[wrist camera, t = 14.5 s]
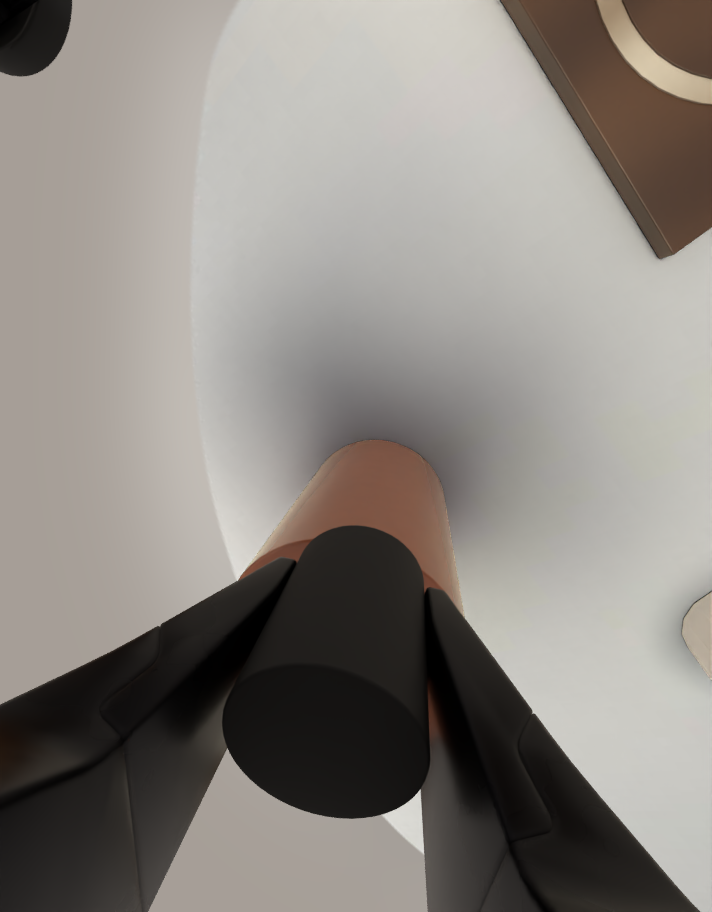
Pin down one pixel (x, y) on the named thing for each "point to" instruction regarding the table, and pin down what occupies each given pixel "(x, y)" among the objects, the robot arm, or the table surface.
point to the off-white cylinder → (700, 632)
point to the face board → (636, 100)
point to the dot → (338, 681)
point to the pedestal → (373, 509)
